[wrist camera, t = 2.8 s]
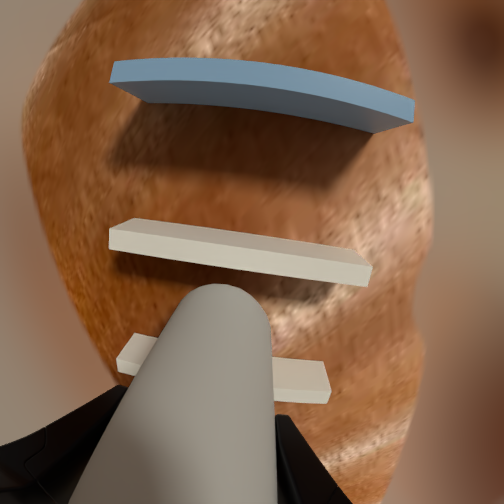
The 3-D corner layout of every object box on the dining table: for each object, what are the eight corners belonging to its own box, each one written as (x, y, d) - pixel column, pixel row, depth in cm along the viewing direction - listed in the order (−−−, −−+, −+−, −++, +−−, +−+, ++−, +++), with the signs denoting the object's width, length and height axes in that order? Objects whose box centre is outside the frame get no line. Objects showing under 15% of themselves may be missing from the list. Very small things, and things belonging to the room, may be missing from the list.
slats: (319, 372, 18) (330, 421, 13) (135, 345, 18) (108, 386, 13) (375, 116, 13) (414, 100, 9) (151, 86, 13) (114, 61, 9)
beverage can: (185, 362, 15) (115, 566, 3) (166, 282, 14) (12, 499, 2) (273, 359, 15) (281, 590, 3) (266, 274, 13) (273, 571, 2)
